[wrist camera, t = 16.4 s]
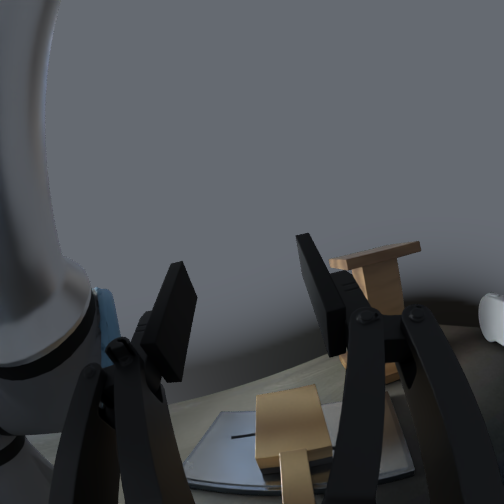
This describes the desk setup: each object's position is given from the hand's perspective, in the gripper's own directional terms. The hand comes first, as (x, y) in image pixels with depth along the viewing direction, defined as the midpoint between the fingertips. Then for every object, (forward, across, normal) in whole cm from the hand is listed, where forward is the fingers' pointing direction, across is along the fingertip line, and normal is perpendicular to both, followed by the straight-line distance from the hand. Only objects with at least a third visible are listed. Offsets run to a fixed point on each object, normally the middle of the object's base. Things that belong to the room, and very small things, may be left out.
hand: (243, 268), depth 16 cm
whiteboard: (-2, 0, -24) cm, 24 cm away
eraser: (-7, 0, -20) cm, 21 cm away
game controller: (-1, +34, -25) cm, 42 cm away
